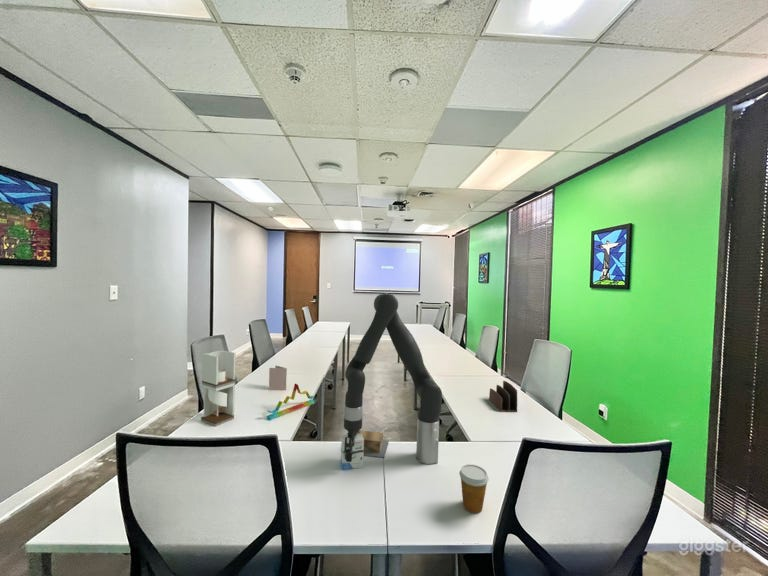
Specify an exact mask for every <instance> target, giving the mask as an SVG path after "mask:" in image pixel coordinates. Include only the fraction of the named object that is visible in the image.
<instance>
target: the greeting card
mask: <svg viewBox="0 0 768 576" xmlns="http://www.w3.org/2000/svg"><path fill="white" fill-rule="evenodd" d="M268 369H269V371H268V373H269V375H268V376H269V377H268V391H287V370H288V369H287V367H283V366H280V365H277V364H276V365H275V366H274V367H269V368H268Z"/></svg>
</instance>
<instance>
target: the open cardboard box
mask: <svg viewBox="0 0 768 576" xmlns="http://www.w3.org/2000/svg"><path fill="white" fill-rule="evenodd" d="M359 434H362V435H363V438H364V451H369V452H377V453H380V450H381V447H382V444H383V440H384V439H383V438H384V433H383V432H379V431H371V430H370V431H369V430H361V429H360V430H359Z"/></svg>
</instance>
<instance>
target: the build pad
mask: <svg viewBox="0 0 768 576" xmlns="http://www.w3.org/2000/svg"><path fill="white" fill-rule="evenodd" d="M389 442H390V441H389V440H384V439H383V444H382V447H381V450H380V453H377V452H369V451H364V453H363V457H364V456H365V457H370V458H379V459H385V457H386V456H385V455H386V454H387V449H388V447H389Z"/></svg>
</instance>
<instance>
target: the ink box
mask: <svg viewBox="0 0 768 576" xmlns="http://www.w3.org/2000/svg"><path fill="white" fill-rule="evenodd" d="M346 436H347V434H343V435H342V436H341V448H340V452H341V453H340V454H341V455H340V464H341V465H340V466H341V469H342V470H343V471H345V470H353V469H359V468H360V469H361V468H363V467H364V456H363V453H364V438H363V435H362V434H358V436H357V438H356V440H355V446H354V447H353V450H352V461H351V462H347V461H346V453H344V449H345V437H346ZM352 444H353V442H352ZM348 449H349V447H348Z"/></svg>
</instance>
